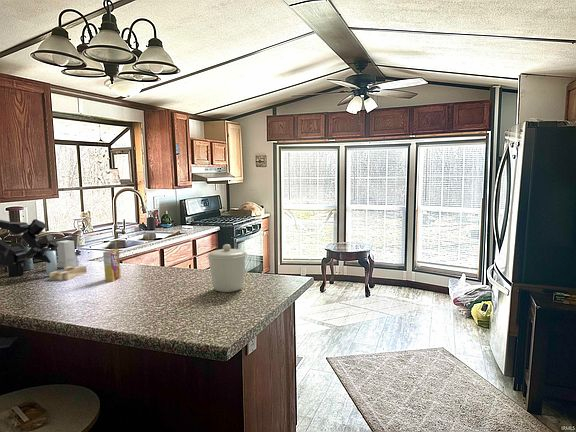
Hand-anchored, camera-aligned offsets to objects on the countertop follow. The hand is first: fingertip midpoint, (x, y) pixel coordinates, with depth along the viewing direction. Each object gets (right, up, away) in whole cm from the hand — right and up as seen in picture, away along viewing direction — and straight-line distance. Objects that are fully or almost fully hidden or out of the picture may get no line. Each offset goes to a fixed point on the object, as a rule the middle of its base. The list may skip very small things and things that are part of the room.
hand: (53, 261), depth 215 cm
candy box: (+36, -8, -9) cm, 38 cm away
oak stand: (+8, -8, 0) cm, 11 cm away
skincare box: (-5, -6, +22) cm, 24 cm away
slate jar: (-1, -7, +1) cm, 7 cm away
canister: (+98, -10, -30) cm, 103 cm away
